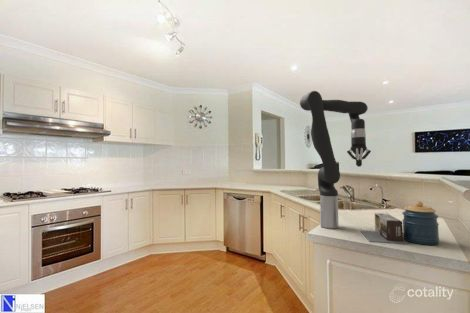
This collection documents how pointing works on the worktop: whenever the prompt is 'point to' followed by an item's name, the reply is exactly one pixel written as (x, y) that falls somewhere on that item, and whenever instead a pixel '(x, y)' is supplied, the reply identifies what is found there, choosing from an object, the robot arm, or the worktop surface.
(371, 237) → the charcoal mat
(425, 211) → the canister
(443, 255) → the worktop surface
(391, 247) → the worktop surface
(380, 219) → the coffee box
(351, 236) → the worktop surface
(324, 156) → the robot arm
